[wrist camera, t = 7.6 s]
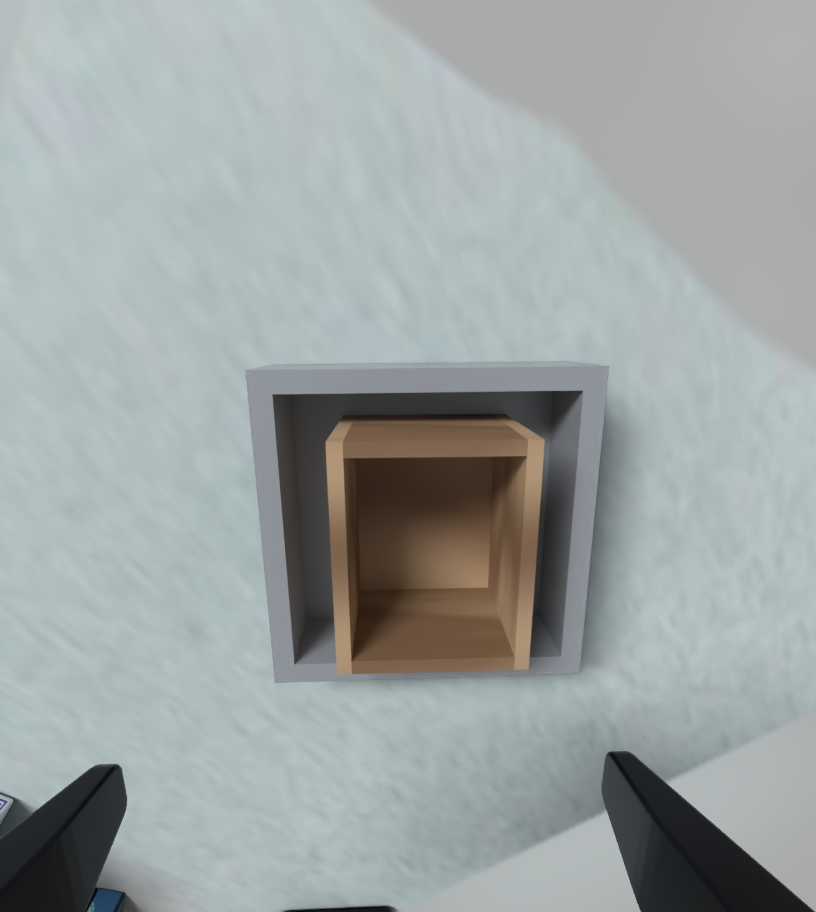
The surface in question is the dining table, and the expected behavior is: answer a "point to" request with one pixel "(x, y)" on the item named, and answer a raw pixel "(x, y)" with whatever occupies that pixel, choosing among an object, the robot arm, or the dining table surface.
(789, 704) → the dining table surface
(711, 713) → the dining table surface
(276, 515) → the grey crate
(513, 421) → the walnut crate
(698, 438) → the dining table surface
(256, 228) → the dining table surface
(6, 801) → the medicine box
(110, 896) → the puzzle
